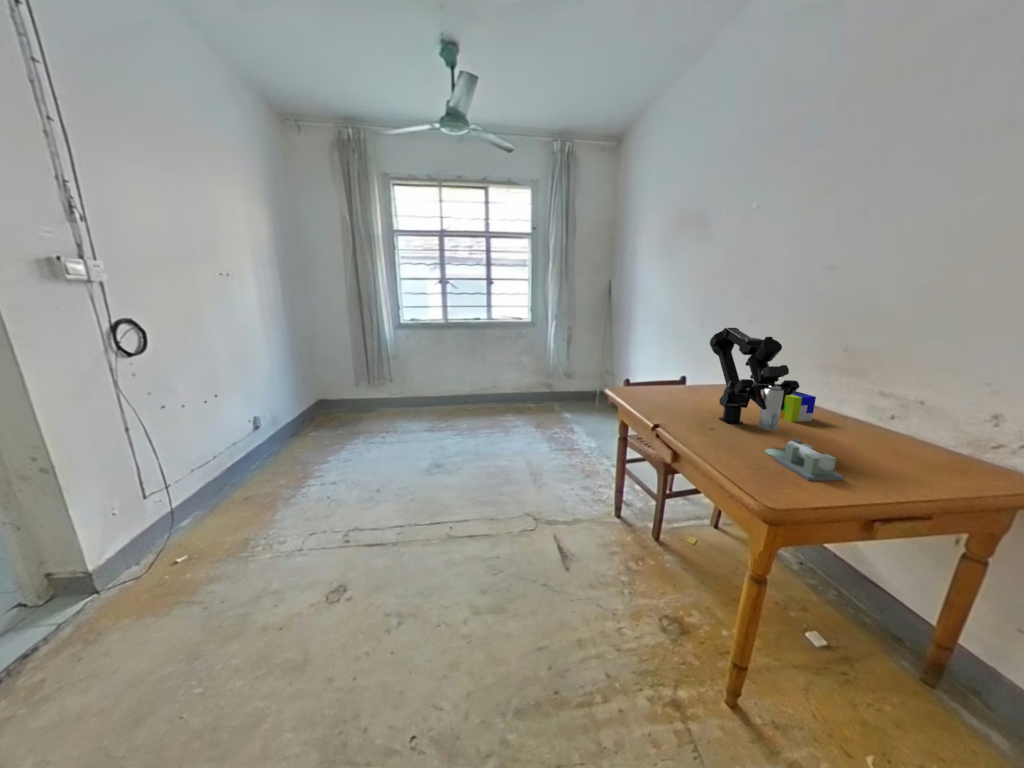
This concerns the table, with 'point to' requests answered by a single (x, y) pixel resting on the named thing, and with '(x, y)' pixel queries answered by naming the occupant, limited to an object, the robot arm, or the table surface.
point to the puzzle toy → (798, 407)
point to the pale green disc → (775, 452)
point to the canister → (771, 407)
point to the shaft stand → (808, 462)
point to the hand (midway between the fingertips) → (773, 409)
